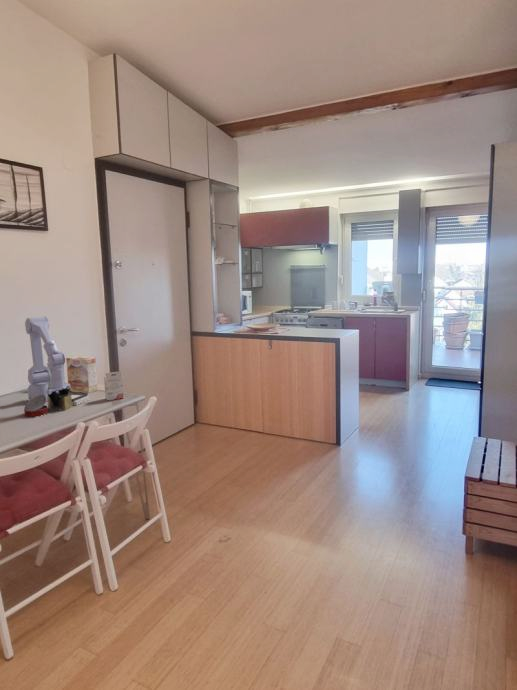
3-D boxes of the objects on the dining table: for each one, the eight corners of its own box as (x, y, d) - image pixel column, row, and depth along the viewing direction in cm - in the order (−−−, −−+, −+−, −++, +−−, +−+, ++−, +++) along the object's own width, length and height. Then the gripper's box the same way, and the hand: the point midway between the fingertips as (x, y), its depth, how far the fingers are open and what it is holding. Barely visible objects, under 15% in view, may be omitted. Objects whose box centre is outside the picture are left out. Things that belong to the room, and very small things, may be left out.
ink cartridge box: (121, 396, 243) (120, 369, 241) (123, 398, 239) (122, 371, 237) (105, 398, 239) (103, 371, 237) (106, 400, 235) (105, 373, 233)
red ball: (48, 423, 214) (50, 407, 210) (24, 425, 209) (25, 408, 204) (45, 407, 222) (47, 391, 218) (22, 408, 217) (24, 392, 212)
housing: (48, 408, 222) (47, 396, 221) (55, 406, 226) (54, 393, 225) (65, 410, 219) (64, 397, 218) (72, 407, 224) (71, 394, 223)
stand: (53, 403, 231) (53, 398, 230) (68, 398, 241) (67, 392, 241) (76, 405, 227) (76, 399, 227) (90, 399, 237) (90, 394, 237)
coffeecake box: (68, 391, 256) (65, 357, 253) (77, 388, 262) (75, 355, 259) (88, 393, 250) (86, 359, 247) (98, 390, 257) (95, 357, 254)
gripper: (54, 381, 212) (56, 409, 214) (74, 375, 226) (76, 401, 228) (41, 380, 214) (44, 408, 216) (62, 374, 228) (64, 400, 230)
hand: (59, 405), depth 222 cm, fingers closed on housing, 5 cm apart
